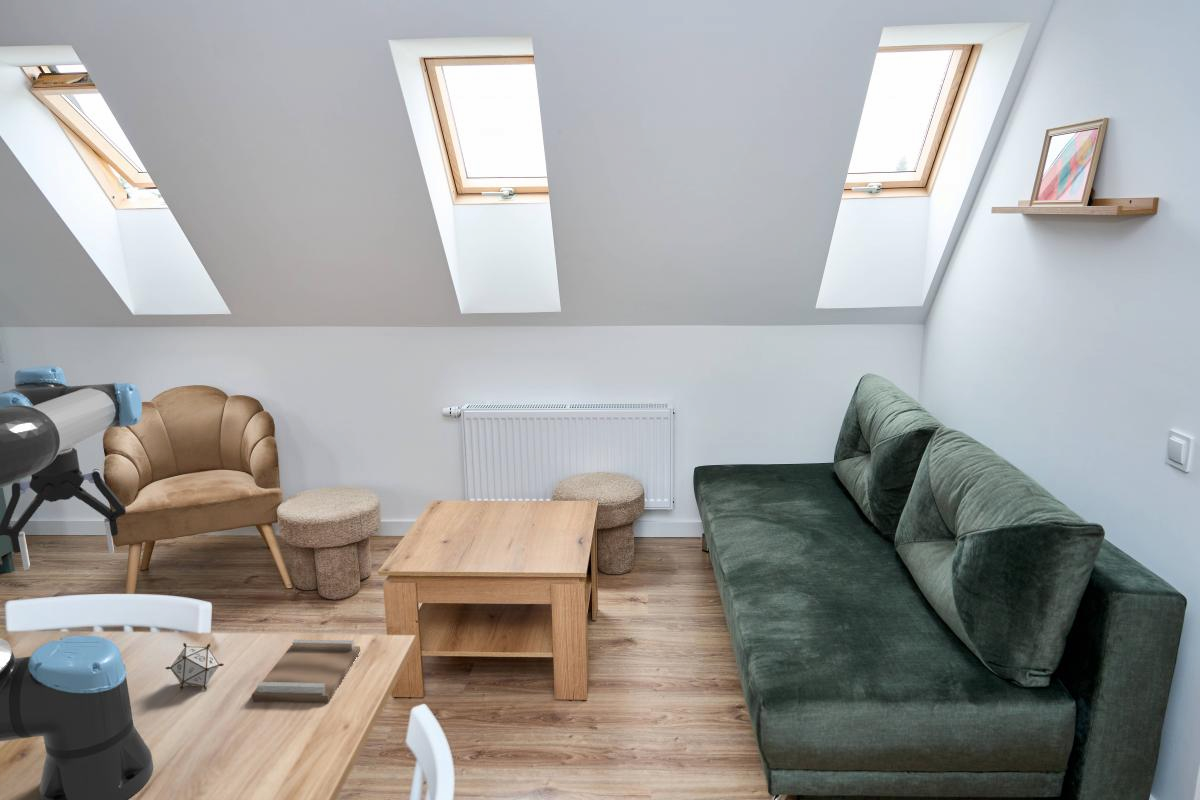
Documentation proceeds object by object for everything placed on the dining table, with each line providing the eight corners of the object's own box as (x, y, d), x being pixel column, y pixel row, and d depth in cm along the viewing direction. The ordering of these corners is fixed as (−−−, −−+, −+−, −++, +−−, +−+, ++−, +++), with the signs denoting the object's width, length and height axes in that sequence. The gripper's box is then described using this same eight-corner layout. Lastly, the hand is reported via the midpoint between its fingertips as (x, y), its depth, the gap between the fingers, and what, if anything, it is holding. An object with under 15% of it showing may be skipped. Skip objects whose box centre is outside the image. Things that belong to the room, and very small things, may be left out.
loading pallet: (328, 703, 152) (326, 688, 151) (252, 701, 152) (250, 686, 152) (360, 653, 168) (359, 639, 168) (292, 651, 169) (290, 638, 168)
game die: (211, 698, 160) (240, 653, 161) (184, 708, 152) (216, 661, 152) (175, 671, 162) (204, 626, 162) (147, 680, 153) (178, 632, 154)
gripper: (129, 436, 163) (144, 539, 168) (-29, 456, 151) (-8, 567, 156) (130, 445, 157) (145, 552, 161) (-35, 466, 145) (-13, 581, 149)
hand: (70, 559), depth 159 cm, fingers open, 13 cm apart
